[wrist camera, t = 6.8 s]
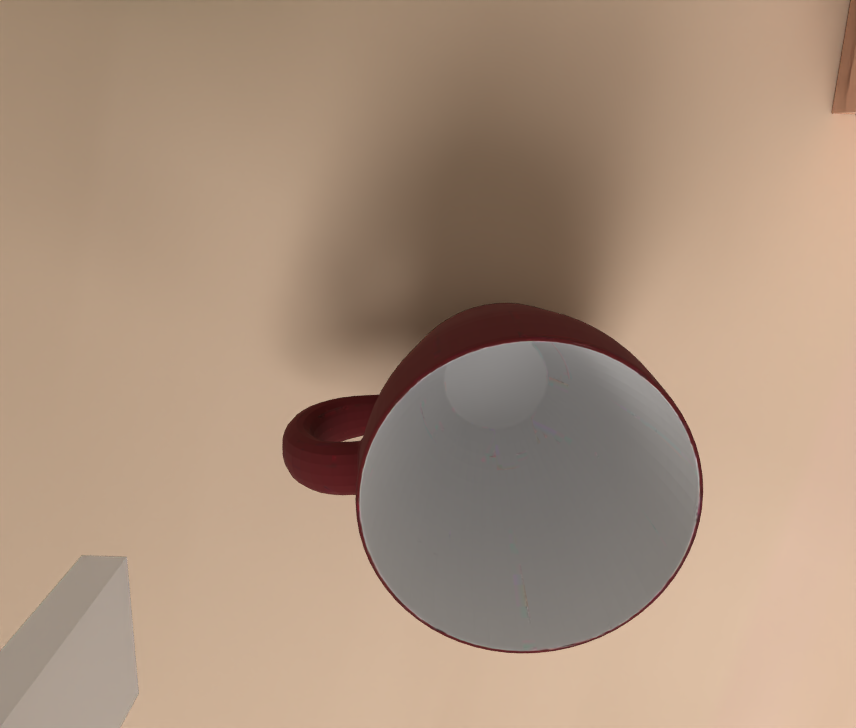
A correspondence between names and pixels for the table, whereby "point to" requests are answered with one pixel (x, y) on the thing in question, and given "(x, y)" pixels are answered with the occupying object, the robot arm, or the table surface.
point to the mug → (512, 479)
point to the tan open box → (847, 69)
